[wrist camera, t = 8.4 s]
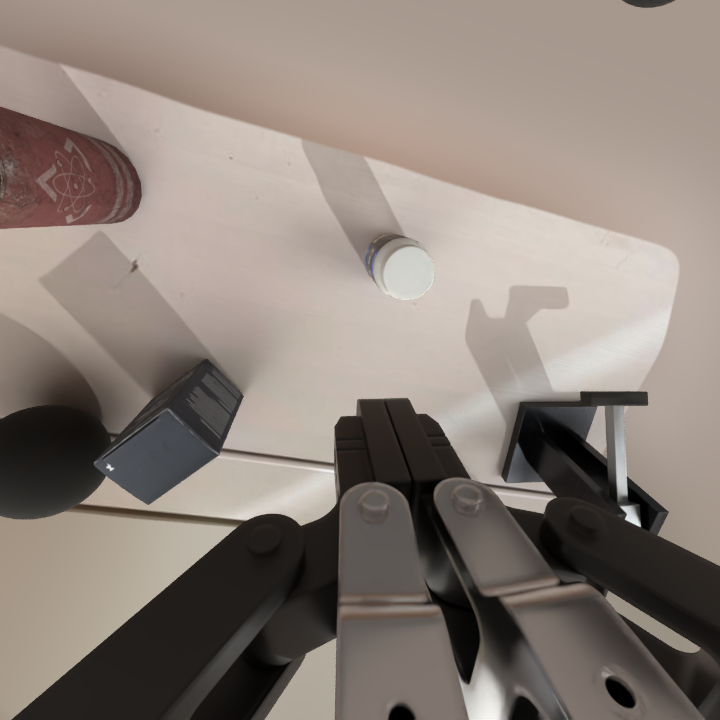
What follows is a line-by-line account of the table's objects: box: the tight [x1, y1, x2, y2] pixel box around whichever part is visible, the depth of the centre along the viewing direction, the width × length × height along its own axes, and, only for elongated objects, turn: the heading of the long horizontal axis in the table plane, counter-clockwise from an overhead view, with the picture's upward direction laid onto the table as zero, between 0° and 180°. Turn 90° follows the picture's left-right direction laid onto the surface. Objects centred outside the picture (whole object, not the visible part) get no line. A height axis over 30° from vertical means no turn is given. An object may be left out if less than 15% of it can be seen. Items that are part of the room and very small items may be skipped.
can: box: [0, 107, 142, 229], centre depth 22 cm, size 6×6×14 cm
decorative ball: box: [0, 405, 112, 519], centre depth 32 cm, size 10×10×10 cm
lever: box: [580, 391, 648, 527], centre depth 33 cm, size 13×6×2 cm, turn 177°
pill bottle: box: [365, 234, 435, 300], centre depth 30 cm, size 5×5×8 cm
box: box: [94, 359, 244, 505], centre depth 32 cm, size 8×6×11 cm
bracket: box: [502, 402, 669, 535], centre depth 38 cm, size 11×9×14 cm
